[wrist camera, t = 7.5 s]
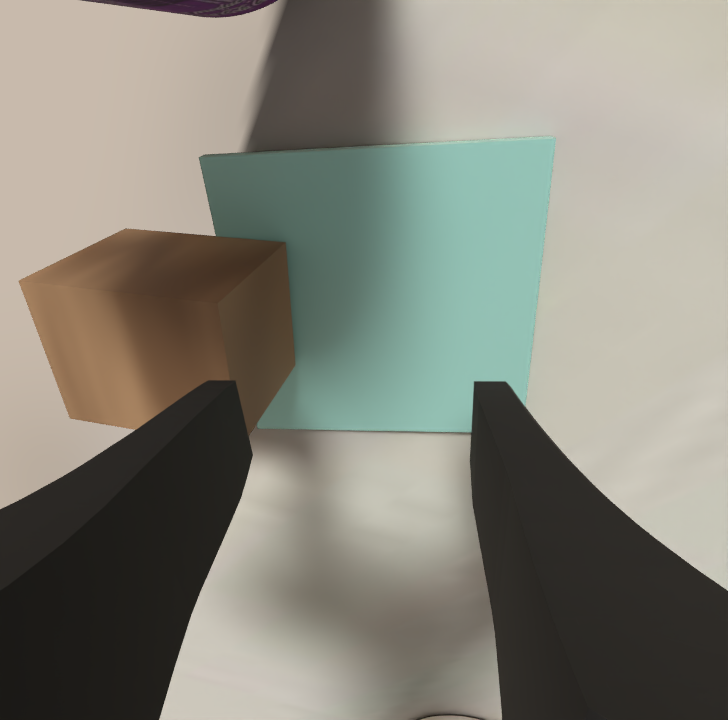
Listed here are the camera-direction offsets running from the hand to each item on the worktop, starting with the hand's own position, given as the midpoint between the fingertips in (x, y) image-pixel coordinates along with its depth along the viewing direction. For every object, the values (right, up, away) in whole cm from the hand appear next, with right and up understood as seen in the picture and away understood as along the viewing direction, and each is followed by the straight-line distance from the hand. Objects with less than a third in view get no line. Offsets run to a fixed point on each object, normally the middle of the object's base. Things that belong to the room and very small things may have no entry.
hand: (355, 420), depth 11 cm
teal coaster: (+1, +3, +5) cm, 6 cm away
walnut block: (-2, +2, +3) cm, 4 cm away
